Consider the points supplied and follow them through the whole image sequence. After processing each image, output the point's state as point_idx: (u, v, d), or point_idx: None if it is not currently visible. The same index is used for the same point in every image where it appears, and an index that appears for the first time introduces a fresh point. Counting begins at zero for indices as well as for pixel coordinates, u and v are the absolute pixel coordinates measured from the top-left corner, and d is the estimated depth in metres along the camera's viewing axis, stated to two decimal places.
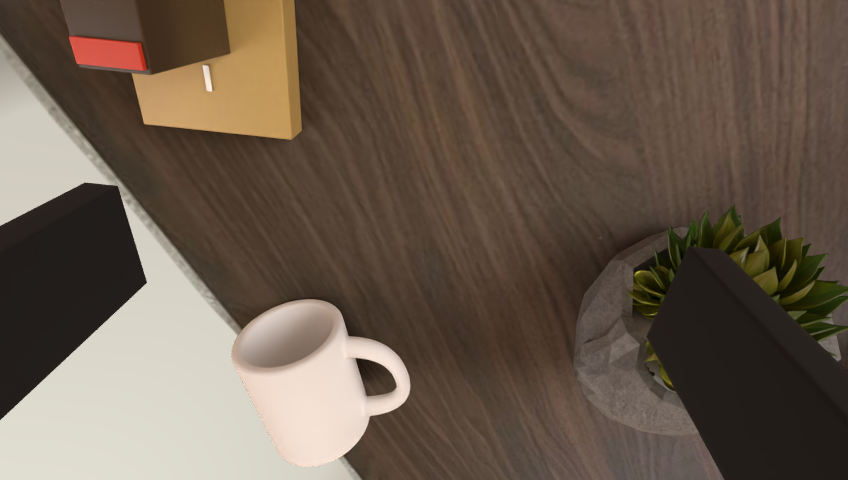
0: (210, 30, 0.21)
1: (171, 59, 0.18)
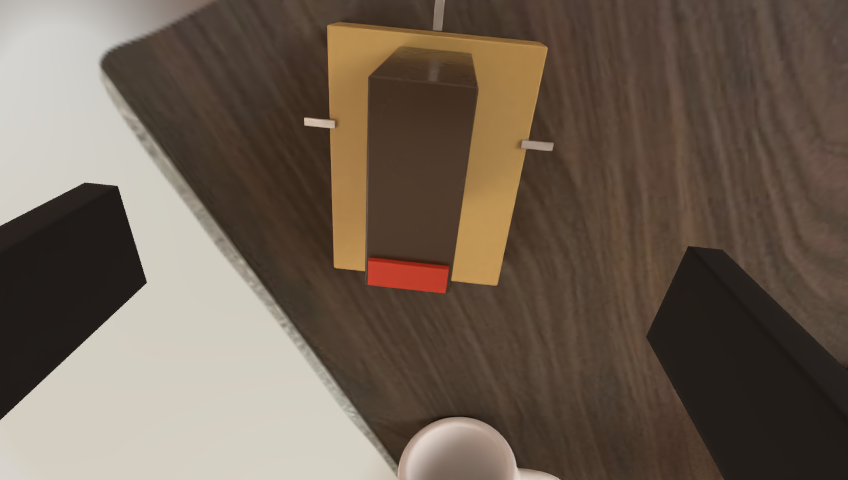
0: None
1: None
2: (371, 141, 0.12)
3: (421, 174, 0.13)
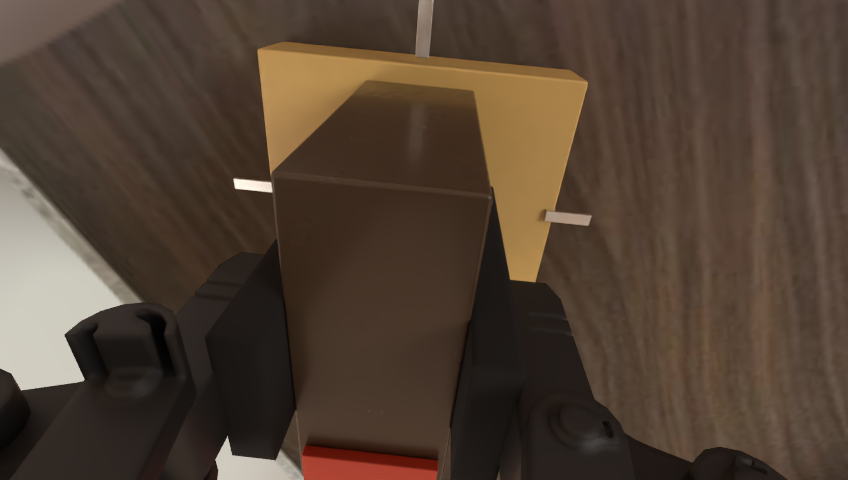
0: None
1: None
2: (288, 284, 0.07)
3: (385, 335, 0.07)
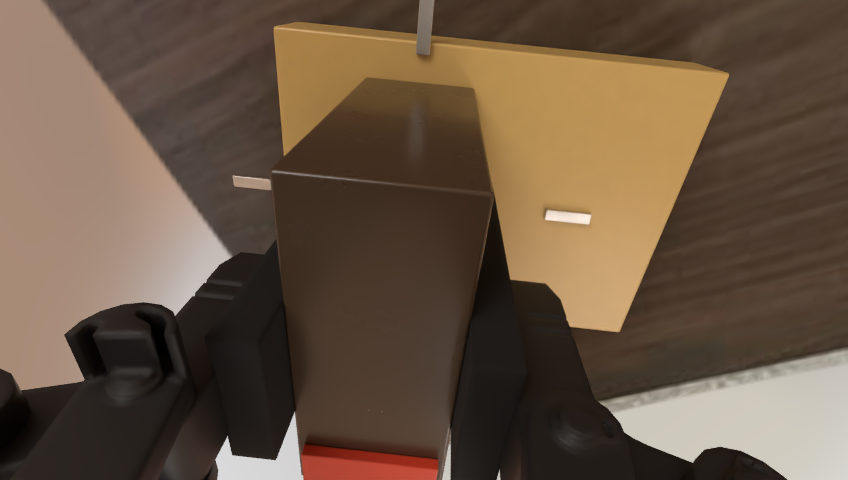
0: None
1: None
2: (287, 282, 0.06)
3: (386, 333, 0.07)
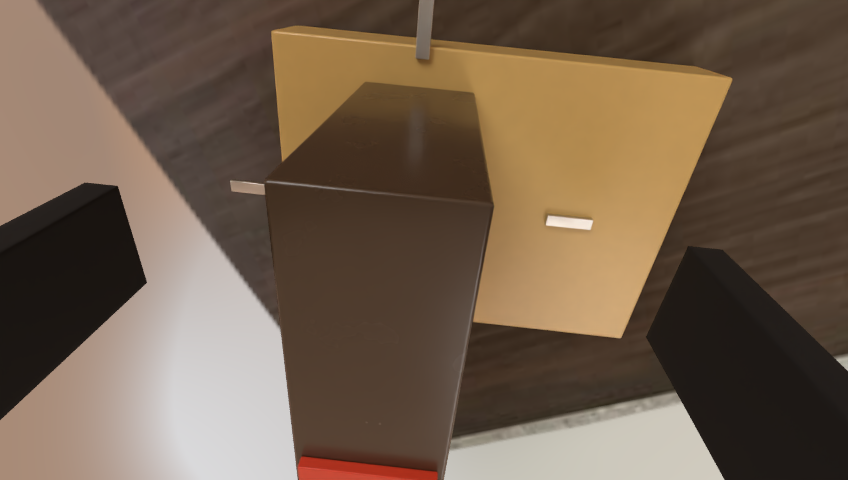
0: None
1: None
2: (283, 294, 0.06)
3: (384, 346, 0.07)
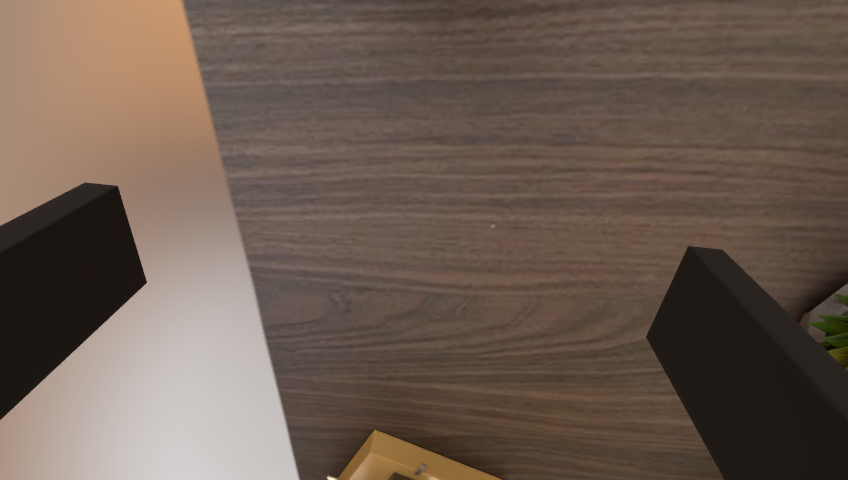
0: None
1: None
2: None
3: None
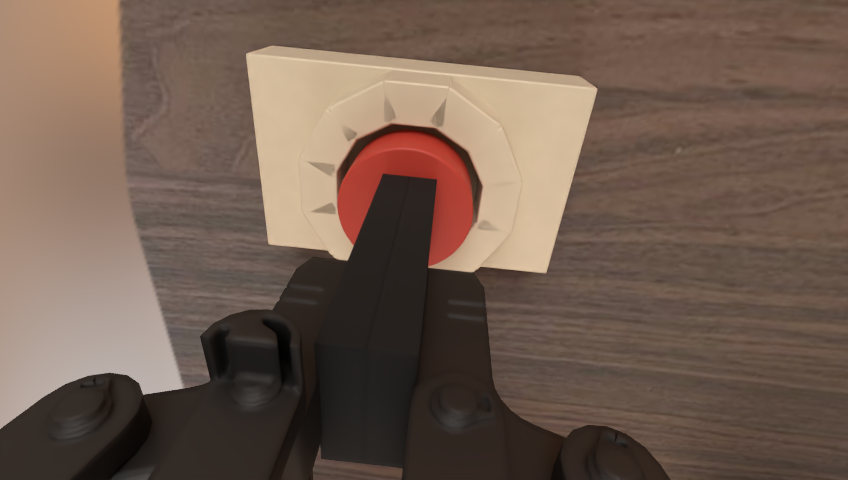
0: None
1: None
2: None
3: None
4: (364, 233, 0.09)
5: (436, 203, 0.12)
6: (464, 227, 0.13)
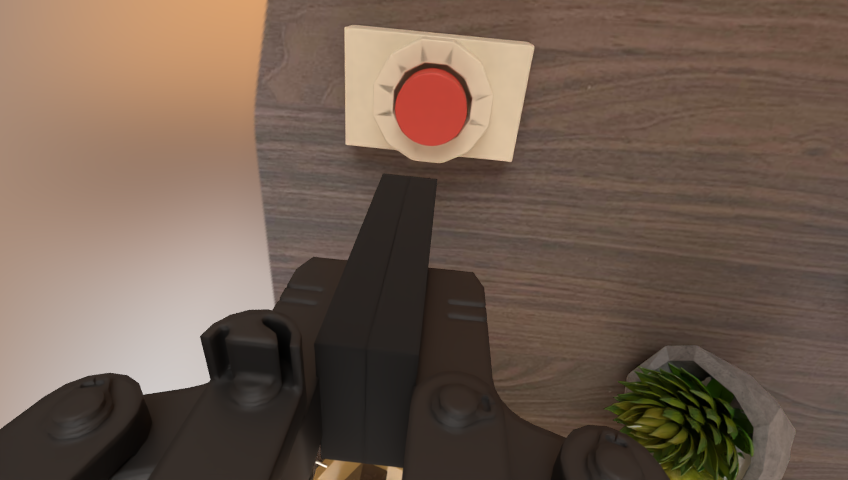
0: None
1: None
2: None
3: None
4: (364, 233, 0.09)
5: (447, 104, 0.23)
6: (462, 118, 0.24)
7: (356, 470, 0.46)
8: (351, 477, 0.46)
